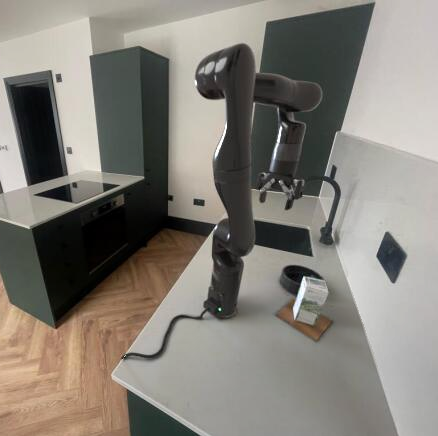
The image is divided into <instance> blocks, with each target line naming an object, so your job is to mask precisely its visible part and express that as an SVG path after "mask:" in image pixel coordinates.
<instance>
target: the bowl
mask: <svg viewBox="0 0 438 436" xmlns="http://www.w3.org/2000/svg"><path fill="white" fill-rule="evenodd" d="M304 276H306V277H311V278H315V279H319V280H324V281H325V279H324V277H323V276H322V275H321V274H320V273H318V272H317V271H315V270H314V269H312V268H309V267H307V266H304V265H300V264H288V265H285V266H283V267H282V269H281V272H280V277H279V279H278V280H279V284H280V286H281V287H282V288H283V289H284V290H285V291H286V292H288V293H290V294H292V295H294V296H296V297H297V295H298V292H299V289H300V286H301V283H302V280H303V277H304Z"/></svg>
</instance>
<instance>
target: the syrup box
mask: <svg viewBox="0 0 438 436" xmlns="http://www.w3.org/2000/svg"><path fill="white" fill-rule="evenodd" d="M329 294H330V293H329V289H328V286H327V283H326V281H325V279H324V280H319V279H315V278H311V277H306V276H304V277H303V280H302V283H301V286H300V289H299V292H298V295H297V296H296V298H295V299H294V300H295V303H294V306H293V312H294V320H295V321H298V322H302V323H305V324H309V325H312V326H315V324H316V322H317V320H318V317H319V315H320V314H321V312H322V310H323V307H324V306H325V302H326V300H327V298H328V296H329Z"/></svg>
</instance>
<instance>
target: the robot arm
mask: <svg viewBox="0 0 438 436" xmlns="http://www.w3.org/2000/svg"><path fill="white" fill-rule="evenodd" d="M256 70H257V67H256V59H255V54H254V52H253V49H252V48H251V46H250V45H249V44H247V43H244V42H240V43H235V44H233V45H230V46H228V47H225V48H222V49H219V50H216V51H214V52H212V53H209V54H207V55H205V56H204V57H203V58H201V60H200V61H199V63H198V65H197V66H196V69H195V73H194V84H195V88H196V90H197V92H198V94H199V95H200V96H201V97H202V98H204V99H205V100H209V101H220V100H224V103H225V124H224V129H223V132H222V134H221V137H220V139H219V140H218V143H217V145H216V147H215V149H214V152H213V156H212V174H213V184H214V187H215V190H216V192H217V195H218V197H219V199H220V201H221V203H222V205H223V207H224V209H225V212H226V215H227V217H224V218H222V219H221V220H219V221H218V222H217V224H216V225H215V227H214V228H213V229H214V230H213V232H212V242H211V260H212V270H211V276H210V285H209V286H208V290H207V298H206V299H205V300H203V304H202V308H204V309H203V310H202V311H201V313H200V315H199V316H191V315H186V314H178V315H176V316H174V317H173V318H172V319H171V320H170V322H169V324H168V327H167V329H166V331H165V333H164V336H163V339H162V343H161V346H160V348H159V349H158V351H157V352H155V353H153V354H143V353H139V352H133V351H132V352H126V353H127V354H126V353H124V354H123V355H122V356H121V357H120V360H122V359H123V358H124V359H126V358H128V357H138V358H143V359H154V358H156V357H158V356H160V355H161V353H162V352H163V350H164V348H165V346H166V342H167V338H168V335H169V333H170V331H171V329H172V326H173V324H174V322H175V321H176V320H178V319H180V318H183V319H184V318H185V319H190V320H191V319H192V320H201V319H202V318H203V317H204V315H205V314H206V313H207V312H208V313H210V314H211V315H212V316H215V317H217V318H218V319H219V320H222V319H228V318H232V317H233V316H235V314H236V312H237V306H238V299H239V295H240V288H241V284H242V279H243V273H244V268H245V262H244V260H243V258H244V257H246V256H248V255H249V254H250V253H251V252H252V251H253V249H254V247H255V244H256V239H257V238H256V226H255V220H254V219H255V218H254V209H253V188H252V187H253V186H252V185H253V184H252V182H253V155H252V154H253V153H252V133H253V132H252V130H253V129H252V126H253V125H252V124H253V113H254V104H257V105H262V106H267V107H270V108H273V109H276V110H277V125H278V129H277V134H276V140H275V144H274V147H273V150H272V154H271V160H270V165H269V170H268V173H267V172H265V171H262V172H260V173H258V175H257V181H256V185H255V190H257V191H259V192H260V193H259V199H258V201H259V203H260V204H263V203H266V198H267V194H268V192H267V191H268V190H270V189H273V190H278V191H283V193H284V194H285V195H286V198H287V199H286V202H285V206H284V211H289V210H291V209H292V208H293V206H294V202H295V200H297V201H298V200H299V199H302V198H303V195H304V190H305V185H306V179H304V178H303V179H297V178H296V173H297V170H298V166H299V161H300V158H301V155H302V154H301V153H302V147H303V141H304V137H305V134H306V129H307V124H306V123H305V122H303V121H299V120H297V119H295V116H294V113H309V112H311V111H313V110H315V109H316V108H317V107H318V106H319V105H320V103H321V102H322V100H323V89H322V88H321V86H320V85H319V84H318V83H316V82H313V81H306V80H294V79H293V78H292V79H291V78H290V77H287V76H284V75H281V74H277V73H271V72H256ZM265 180H267V181H268V182H267V183H265ZM264 183H265V185H264ZM292 185H294V186H295V192H294V188H293V186H292ZM125 355H126V356H125ZM124 356H125V357H124ZM124 359H123V360H124Z"/></svg>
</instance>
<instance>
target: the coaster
mask: <svg viewBox="0 0 438 436" xmlns="http://www.w3.org/2000/svg"><path fill="white" fill-rule="evenodd" d="M295 300H296V299H291V301H290V302H288V303H287V304H286V305H285V306H284V307H283V308H282V309H281V310H280V311H278V312H277V313H276V314H275V316H276V317H277V318H280V319H281V320H282V321H283V322H286V323H287V324H289V325H290V326H292V327H293V328H295V329H297V330H298V331H300V332H301V333H303V334H305V335H306V336H307V337H309V338H311V339H312V340H314V341H315V342H317V341H318V340H319V339H320V337H321V336H322V335H323V334H324V332H325V331H326V330H327V328H329V326H330V325H331V324H332V323H333V320H331V319H330V318H328V317H326V316H325V315H322V314H321V313H320V315H319V317H318V320H317V322H316V324H315V326H312V325H309V324H305V323H302V322H298V321H295V320H294V312H293V306H294V303H295Z"/></svg>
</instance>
